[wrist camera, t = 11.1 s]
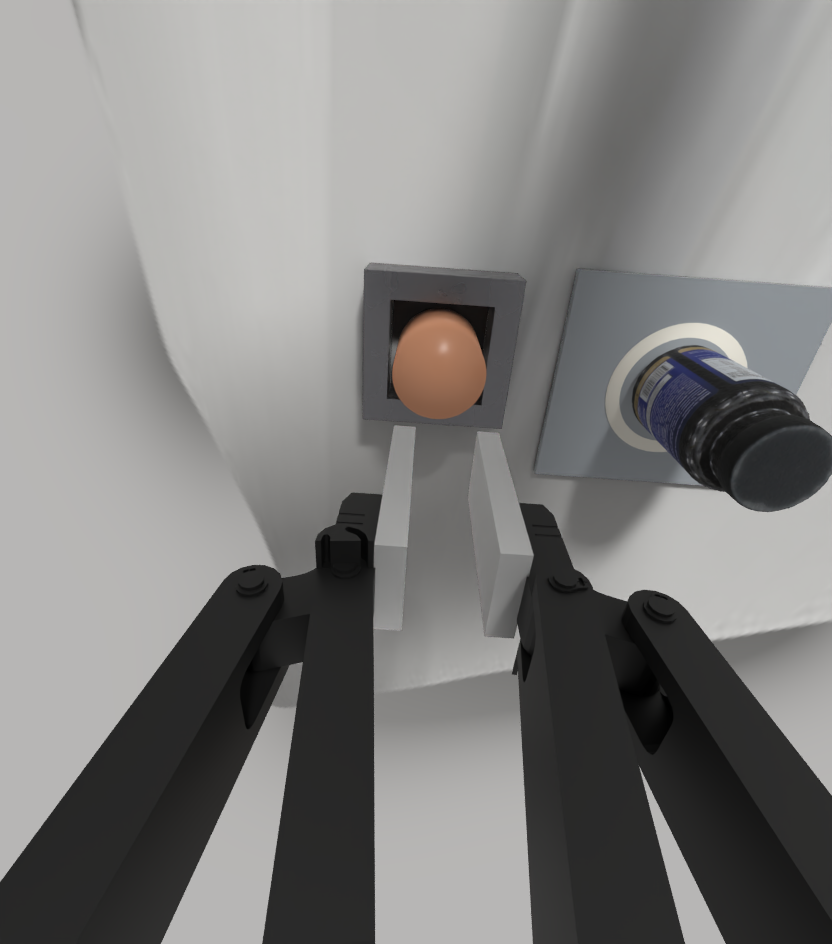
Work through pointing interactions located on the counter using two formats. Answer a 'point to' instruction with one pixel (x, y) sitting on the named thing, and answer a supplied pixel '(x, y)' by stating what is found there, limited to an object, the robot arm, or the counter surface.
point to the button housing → (449, 288)
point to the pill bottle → (733, 428)
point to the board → (650, 335)
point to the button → (438, 364)
